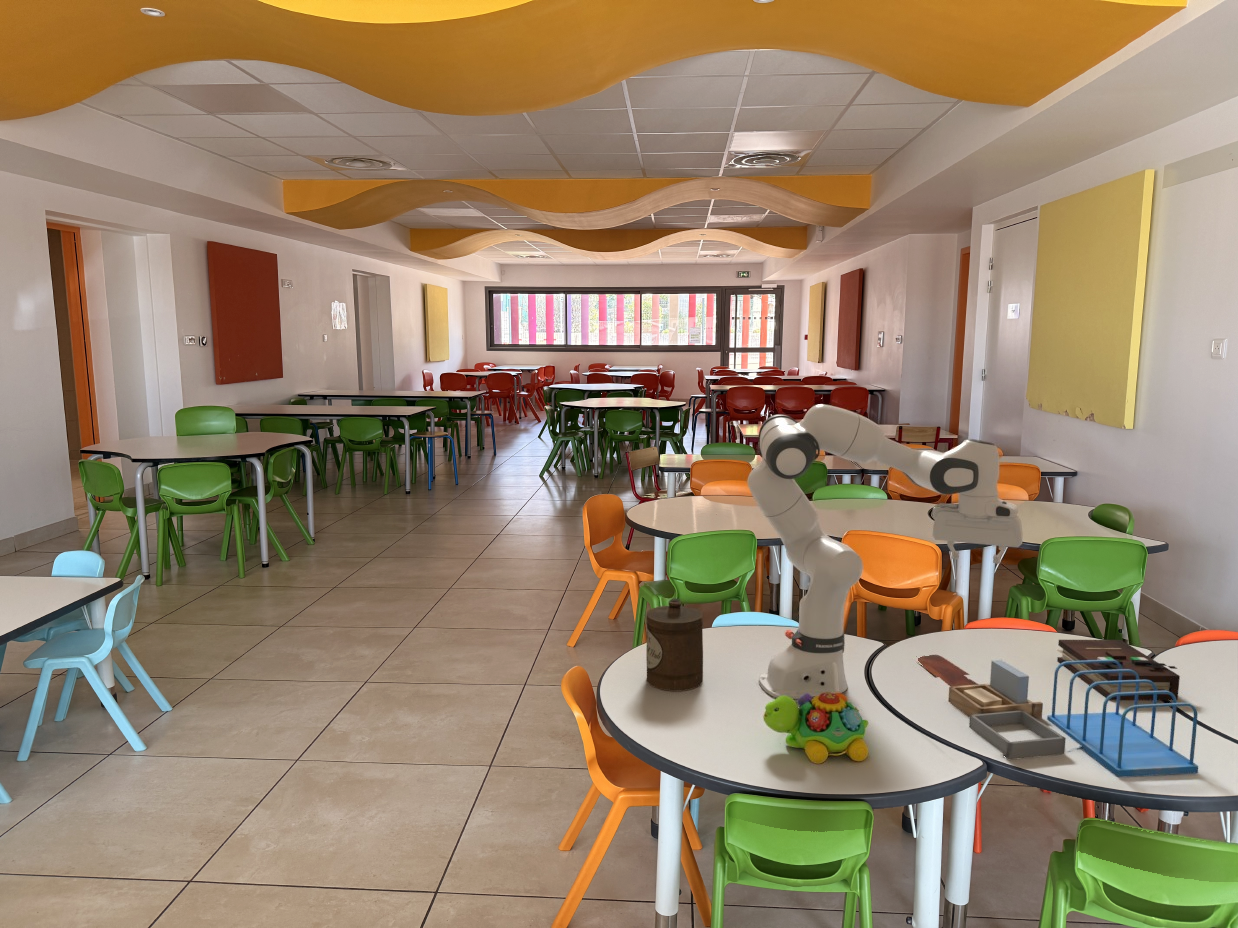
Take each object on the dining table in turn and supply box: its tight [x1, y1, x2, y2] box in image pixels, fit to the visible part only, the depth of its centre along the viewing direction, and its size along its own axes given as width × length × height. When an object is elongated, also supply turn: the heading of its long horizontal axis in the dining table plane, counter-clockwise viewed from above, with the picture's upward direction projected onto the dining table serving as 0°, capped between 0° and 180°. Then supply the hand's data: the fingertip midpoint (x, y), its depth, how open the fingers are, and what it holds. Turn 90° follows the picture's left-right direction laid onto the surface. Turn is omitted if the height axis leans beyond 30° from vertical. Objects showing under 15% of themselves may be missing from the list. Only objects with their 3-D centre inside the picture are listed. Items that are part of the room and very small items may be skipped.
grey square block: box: [989, 659, 1030, 704], centre depth 197 cm, size 3×10×10 cm, turn 11°
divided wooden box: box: [948, 682, 1044, 720], centre depth 197 cm, size 16×13×4 cm
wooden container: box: [646, 597, 704, 692], centre depth 216 cm, size 15×15×22 cm
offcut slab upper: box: [963, 688, 1002, 707], centre depth 196 cm, size 5×7×2 cm
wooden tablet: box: [918, 654, 979, 687], centre depth 221 cm, size 27×10×2 cm, turn 6°
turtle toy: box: [762, 692, 869, 764], centre depth 180 cm, size 17×23×12 cm
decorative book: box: [1056, 639, 1181, 701], centre depth 216 cm, size 19×8×30 cm
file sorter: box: [1046, 660, 1199, 778], centre depth 179 cm, size 25×17×15 cm
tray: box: [968, 710, 1067, 760], centre depth 183 cm, size 13×14×4 cm
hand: (975, 560), depth 203 cm, fingers open, 8 cm apart
